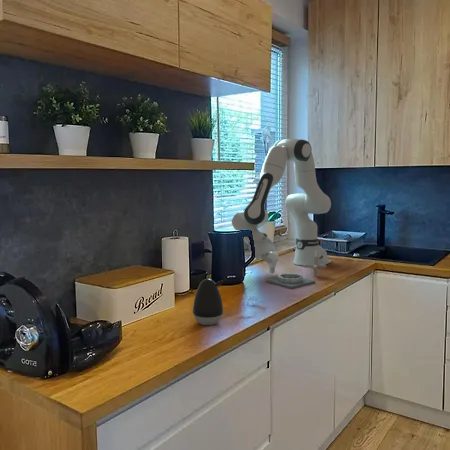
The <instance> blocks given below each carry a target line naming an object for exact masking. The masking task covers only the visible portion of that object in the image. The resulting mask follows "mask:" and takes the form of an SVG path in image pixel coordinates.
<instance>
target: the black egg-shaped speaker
mask: <svg viewBox="0 0 450 450" xmlns="http://www.w3.org/2000/svg"><path fill="white" fill-rule="evenodd" d="M223 283H224V280H222V279H221V280H219V281H217V282H215V281H214V280H213V279H211V278H204V279H203V280H202V281H201V282H200V283H199V285H198V287H197V289H196V292H195V296H194V299H193V304H192V305H193V307H192V314H193V316H194V319H195V320H196V322H197V323H198V324H200V325H203V326H213V325H215V324H218V323H219V322H220V320H221V319H222V316H223V313H224V305H223V301H222V300H223V299H222V296H221V295H222V294H221V293H220V290H219V286H221V285H222V284H223Z"/></svg>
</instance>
